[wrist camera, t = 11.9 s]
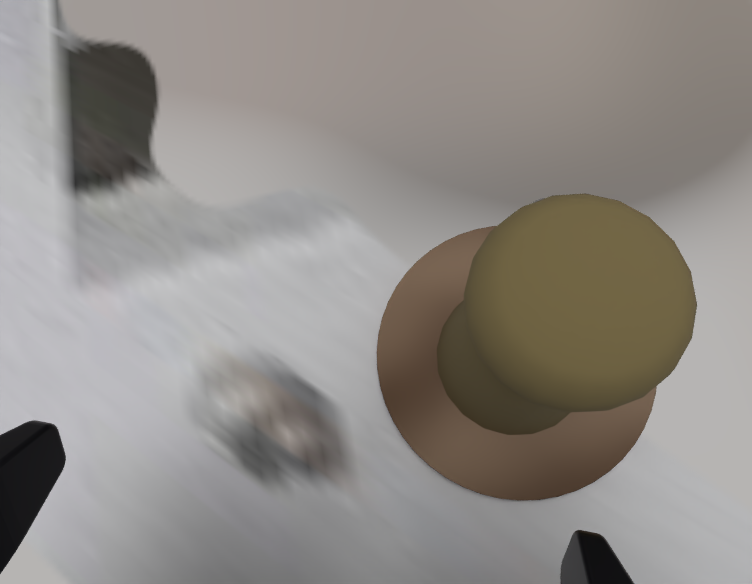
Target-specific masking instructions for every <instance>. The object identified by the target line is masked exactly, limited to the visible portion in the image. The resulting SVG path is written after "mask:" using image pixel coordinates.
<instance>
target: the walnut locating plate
mask: <svg viewBox="0 0 752 584" xmlns="http://www.w3.org/2000/svg"><path fill="white" fill-rule="evenodd" d="M543 199H545V198H543ZM540 200H542V199H539V200H536V201H535V202H537V201H540ZM533 203H534V202H533ZM495 227H497V226H492V227H486V228H481V229H476V230H473V231H470V232H466V233H463V234H460V235H458V236H456V237H453V238H451V239H449V240H447V241H445V242H443V243H442V244H440V245H438V246H437V247H435V248H434V249H432V250H430V251H429V252H428V253H427V254H426V255H424V256H423V257H422V258H421V259H420V260H418V261H417V262H416V263H415V264H414V265H413V266H412V267H411V269H410V270H409V271H408V272H407V273H406V274H405V275H404V277H403V278H402V280H401V281H400V282H399V284H398V285H397V287H396V288H395V290H394V292H393V294H392V296H391V298H390V300H389V301H388V304H387V307H386V309H385V312H384V315H383V317H382V321H381V326H380V330H379V335H378V345H377V369H378V375H379V381H380V387H381V391H382V394H383V397H384V400H385V404H386V406H387V408H388V411H389V413H390V415H391V417H392V419H393V422H394V423H395V425H396V426H397V428H398V430H399V431H400V433H401V435H402V436H403V438H404V439H405V440H406V441H407V443H408V444H409V445H410V446H411V448H412V449H413V450H414V451H415V452H416V453H417V454H418V455H419V456H420V457H421V458H422V459H423V460H424V461H425V462H426V463H427V464H428V465H429V466H431V467H432V468H433V469H435V470H436V471H437V472H439V473H440V474H441V475H443V476H444V477H446V478H448V479H449V480H451V481H453V482H455V483H457V484H458V485H460V486H462V487H465V488H467V489H470V490H472V491H475V492H477V493H480V494H484V495H488V496H492V497H496V498H501V499H510V500H541V499H546V498H552V497H558V496H561V495H564V494H567V493H571V492H574V491H577V490H579V489H581V488H583V487H585V486H587V485H589V484H591V483H593V482H595V481H596V480H597V479H599V478H600V477H602V476H603V475H605V474H606V473H608V472H609V471H610V470H611V469H612V468H614V467H615V466H616V465H617V464H618V463H619V462H620V461H621V460H622V459H623V458H624V457H625V456H626V454H627V453H628V452H629V451H630V450H631V448H632V447H633V446H634V445H635V443H636V441H637V440H638V438H639V436H640V435H641V433H642V431H643V430H644V428H645V425H646V422H647V420H648V418H649V415H650V413H651V410H652V406H653V402H654V398H655V394H656V387H655V388H654V389H652V390H651V391H650V392H649V393H648V394H647V395H645V396H644V397H643V398H640V399H638V400H635V401H632V402H630V403H627V404H624V405H622V406H619V407H617V408H614V409H611V410H607V411H593V412H571V413H570V414H569V415H567V416H566V417H565V418H564V419H563V420H561V421H560V422H559V423H558V424H557V425H555V426H553V427H550V428H548V429H545V430H542V431H540V432H537V433H534V434H524V435H506V434H502V433H499V432H495V431H492V430H488V429H485V428H483V427H481V426H479V425H478V424H476V423H475V422H473V421H472V420H470V419H469V418H467V417H466V416H464V415H463V414H462V413H461V412H460V410H459V409H458V408H457V407H456V406H455V404H454V403H453V402H452V401H451V399H450V398H449V397H448V396H447V394H446V391H445V389H444V386H443V384H442V381H441V379H440V376H439V374H438V362H437V346H438V342H439V338H440V334H441V331H442V327H443V325H444V324H445V322H446V321H447V319H448V318H449V316H450V315H451V313H452V312H453V310H454V309H455V307H457V306H458V305H459V304H460V303H461V302H462V301H463V300H464V291H465V287H466V283H467V279H468V275H469V271H470V267H471V263H472V259H473V257H474V256H475V254H476V252H477V251H478V249H479V248H480V246H481V245H482V243H483V242H484V240H485V239H486V237H487V236H488V234H489V233H490V231H491V230H493V229H494V228H495Z"/></svg>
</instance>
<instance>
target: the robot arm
mask: <svg viewBox="0 0 752 584" xmlns="http://www.w3.org/2000/svg"><path fill="white" fill-rule="evenodd" d="M65 461H66V456H65V452H64V448H63V445H62V441H61V438H60V435H59V431H58V429H57V427H56V426H55V425H54V424H51V423H46V422H41V421H29V422H26V423H24V424H22V425H20V426H18V427H16V428H14V429H12V430H10V431H8V432H6V433H4V434H2V435H0V574H1V572H2V571H3V569H4V568H5V567H6V565H7V564H8V562H9V561H10V559H11V558H12V556H13V554H14V553H15V552H16V550H17V549H18V547H19V545H20V544H21V542H22V540H23V539H24V537H25V535H26V534H27V532H28V530H29V528H30V527H31V525H32V523H33V521H34V520H35V518H36V516H37V514H38V513H39V511H40V509H41V507H42V506H43V504H44V502H45V500H46V499H47V497H48V495H49V493H50V492H51V490H52V488H53V486H54V485H55V483H56V481H57V479H58V477H59V476H60V474H61V472H62V470H63V468H64V465H65ZM560 579H561V584H634V583H633V581H632V579H631V578H630V576H629V575H628V573H627V572H626V570H625V569H624V567H623V565H622V564H621V562H620V561H619V559H618V558H617V556H616V555H615V553H614V552H613V550H612V548H611V547H610V545H609V544H608V542H607V541H606V539H605V538H604V537H603V536H601V535H600V534H597V533H592V532H587V531H582V530H577V531H575V532H574V534H573V535H572V538H571V540H570V543H569V545H568V548H567V550H566V553H565V555H564V558H563V561H562V565H561V576H560Z"/></svg>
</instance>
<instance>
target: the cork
mask: <svg viewBox="0 0 752 584" xmlns="http://www.w3.org/2000/svg"><path fill="white" fill-rule="evenodd" d="M696 307H697V302H696V297H695V292H694V287H693V281H692V276H691V271H690V269H689V268H688V266H687V264H686V262H685V260H684V258H683V257H682V255H681V253H680V251H679V249H678V248H677V246H676V244H675V242H674V241H673V240H672V239H671V238H670V237H669V236H668V235H667V234H666V233H665V232H664V231H663V230H662V229H661V228H660V227H659V226H658V225H657V224H656V223H655V222H654V221H653V220H652V219H651V218H650V217H648V216H646V215H644V214H642V213H640V212H639V211H637V210H635V209H633V208H631V207H629V206H627V205H626V204H624V203H622V202H620V201H617V200H613V199H608V198H603V197H599V196H594V195H589V194H572V195H556V196H551V197H548V198H545V199H542V200H540V201H537V202H534V203H532V204H529V205H526V206H524V207H522V208H520V209H519V210H517V211H516V212H514V213H513V214H512V215H511V216H510V217H508V218H507V219H505V220H504V221H503V222H502V223H501V224H499V225H498V226H497V227H495V228H494V229H493V230H491V231H490V233H489V234H488V236H487V237H486V239H485V240H484V242H483V243H482V245H481V246H480V248H479V249H478V251H477V252H476V254H475V256H474V257H473V259H472V263H471V267H470V271H469V275H468V279H467V283H466V287H465V291H464V300H463V301H462V302H461V303H460V304H459V305H458V306H457V307H455V309H454V310H453V312H452V313H451V315H450V316H449V318H448V319H447V321H446V322H445V324H444V325H443V327H442V331H441V334H440V338H439V342H438V346H437V362H438V374H439V376H440V379H441V381H442V384H443V386H444V389H445V391H446V394H447V396H448V397H449V398H450V399H451V401H452V402H453V403H454V404H455V406H456V407H457V408H458V409H459V410H460V412H461V413H462V414H463V415H464V416H466V417H467V418H469V419H470V420H472V421H473V422H475V423H476V424H478V425H479V426H481V427H483V428H485V429H488V430H492V431H495V432H499V433H502V434H506V435H524V434H534V433H537V432H540V431H542V430H545V429H548V428H550V427H553V426H555V425H557V424H558V423H559V422H560V421H561V420H563V419H564V418H565V417H566V416H567V415H569V414H570V413H571V412H593V411H607V410H611V409H614V408H617V407H619V406H622V405H624V404H627V403H630V402H632V401H635V400H638V399H640V398H643V397H644V396H645V395H647V394H648V393H649V392H650V391H651V390H652V389H654V388H655V387H656V386H657V385H658V384H659V383H661V382H662V381H663V380H664V379H665V378H666V377H668V376H669V375H670V374H671V372H672V371H673V370H674V369H675V367H676V366H677V364H678V362H679V360H680V358H681V356H682V355H683V353H684V351H685V349H686V348H687V346H688V344H689V342H690V340H691V338H692V333H693V327H694V320H695V315H696Z"/></svg>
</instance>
